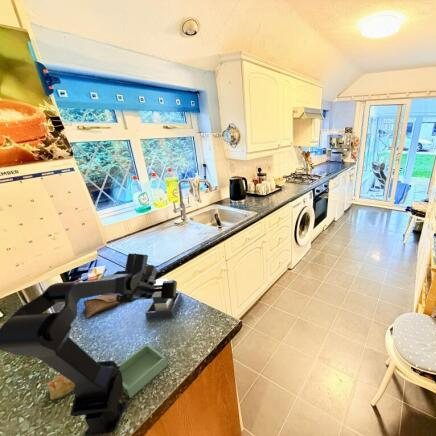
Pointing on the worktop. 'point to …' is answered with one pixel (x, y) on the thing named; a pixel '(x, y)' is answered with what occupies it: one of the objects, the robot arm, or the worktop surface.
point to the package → (158, 301)
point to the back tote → (153, 314)
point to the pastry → (60, 387)
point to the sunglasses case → (100, 304)
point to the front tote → (141, 369)
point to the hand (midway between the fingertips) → (157, 293)
